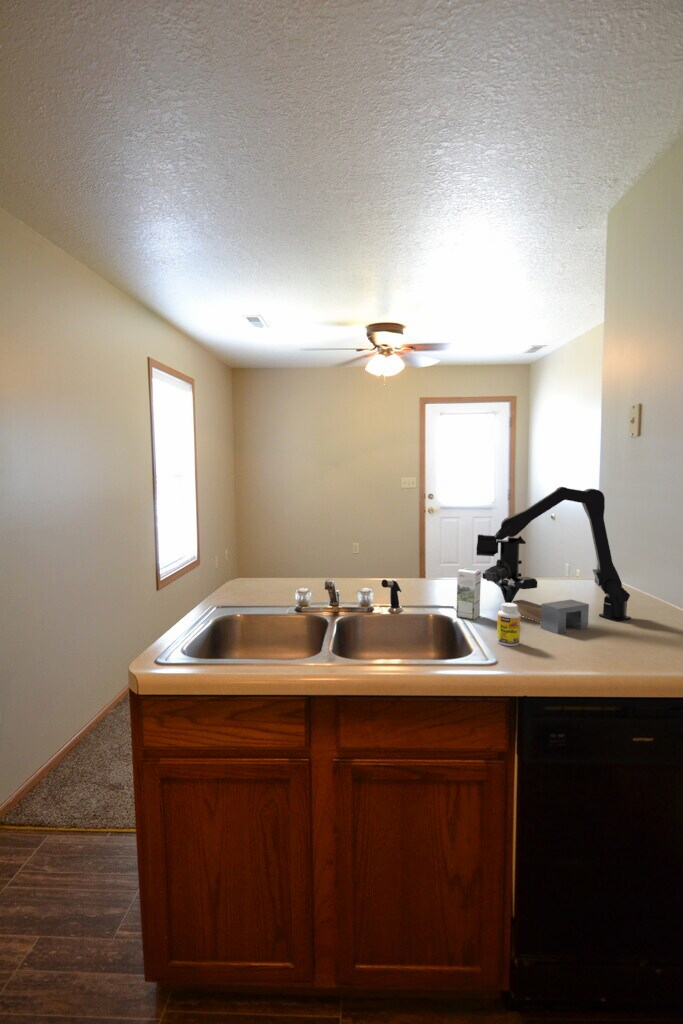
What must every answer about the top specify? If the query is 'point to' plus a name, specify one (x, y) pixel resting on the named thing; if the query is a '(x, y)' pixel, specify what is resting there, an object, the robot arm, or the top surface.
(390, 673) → the top surface
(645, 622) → the top surface
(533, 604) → the plug rod
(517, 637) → the supplement bottle
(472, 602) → the syrup box
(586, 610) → the grey u-shaped block
